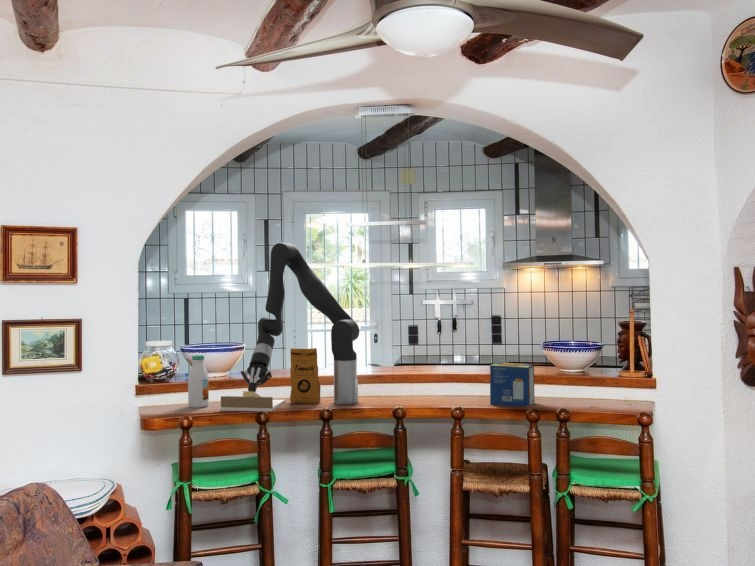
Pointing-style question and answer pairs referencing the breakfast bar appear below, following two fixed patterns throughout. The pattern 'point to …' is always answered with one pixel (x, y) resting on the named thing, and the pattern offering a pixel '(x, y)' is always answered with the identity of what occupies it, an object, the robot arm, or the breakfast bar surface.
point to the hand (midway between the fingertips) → (251, 392)
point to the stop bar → (250, 394)
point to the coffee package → (304, 376)
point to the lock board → (249, 403)
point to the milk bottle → (198, 383)
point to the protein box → (512, 384)
